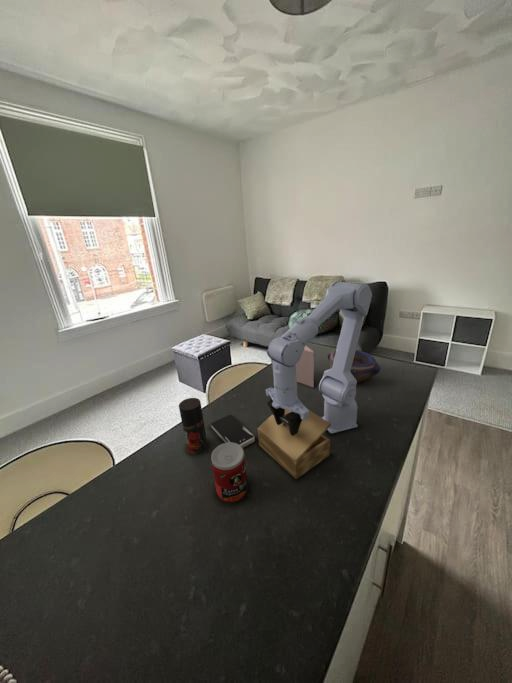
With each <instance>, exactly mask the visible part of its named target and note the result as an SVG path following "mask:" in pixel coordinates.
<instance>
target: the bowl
mask: <svg viewBox="0 0 512 683" xmlns="http://www.w3.org/2000/svg"><path fill="white" fill-rule="evenodd" d="M335 354H336V350H331V351H329V352H328V354H327V359H328V361H329V367H330V368H329V369H331V368H332V366H333V362H334V358H335ZM380 371H381V366H380V364H379V363H378V362H377V359H376V358H375V357H374V356H373V355H372V354H369V353H367V352H365V351H363V350H357V349H356V351H355V355H354V359H353V363H352V367H351V371H350V372H351V374H352V375H353V376H354V378H355V379H356V381H357V384H358V383H361V382H364V381H366V380H368V379H371V378H372V377H374V376H376V375H377V374H379V373H380Z"/></svg>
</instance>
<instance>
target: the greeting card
mask: <svg viewBox="0 0 512 683" xmlns="http://www.w3.org/2000/svg"><path fill="white" fill-rule="evenodd" d="M315 355H316V353H315V352H314V351H313V350H312V349H311V348H310V347H309V346H308V345H306V346H305V347H304V351H303V352H302V355H301V358H300V360H299V362H297V363H296V371H297V383H300V384H302V385H304V386H308V387H311V388H314V387H315V384H314V382H315V380H314V379H315Z"/></svg>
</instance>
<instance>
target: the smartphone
mask: <svg viewBox="0 0 512 683" xmlns="http://www.w3.org/2000/svg"><path fill="white" fill-rule="evenodd" d="M210 427H211V429H212V430H213V431H214V432H215V433H216V435H217V436H219V438H220V439H221V440H222V441H223V443H228V442H232V443H236V444H238V445H240V446H241V447H242V448H243V449H244V448H245V447H247V446H249V445H250V444H253V443H254V442H255V441H256V440H255V439H256V437H255V435H254V434H253V433H252V432H250V430H248V429H247V428H246V427H245V426H244V425H243V424H241V423H240V421H239V420H237V419H236V418H235V417H234V416H233V415H232V414H228V415H226V416H223V417H221V418H219V419H217V420H215V421H212V422H211V424H210Z"/></svg>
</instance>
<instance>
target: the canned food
mask: <svg viewBox="0 0 512 683" xmlns="http://www.w3.org/2000/svg"><path fill="white" fill-rule="evenodd" d="M210 459H211V467H212V472H213V478H214V485H215V490H216V494H217V496H218V498H219V499H220V500H222V501H223V502H225V503H230V504H232V503H236V502H239V501H240V500H242V499H243V498H244V496H245V495H246V494H247V491H248V478H247V476H248V475H247V466H246V457H245V451H244V448H242V447H241V446H240V445H238V444H236V443H232V442H228V443H225V442H223V443H221V444H219V445H217V446H216V447H215V448H214V449H213V450H212V452H211V457H210Z"/></svg>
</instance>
